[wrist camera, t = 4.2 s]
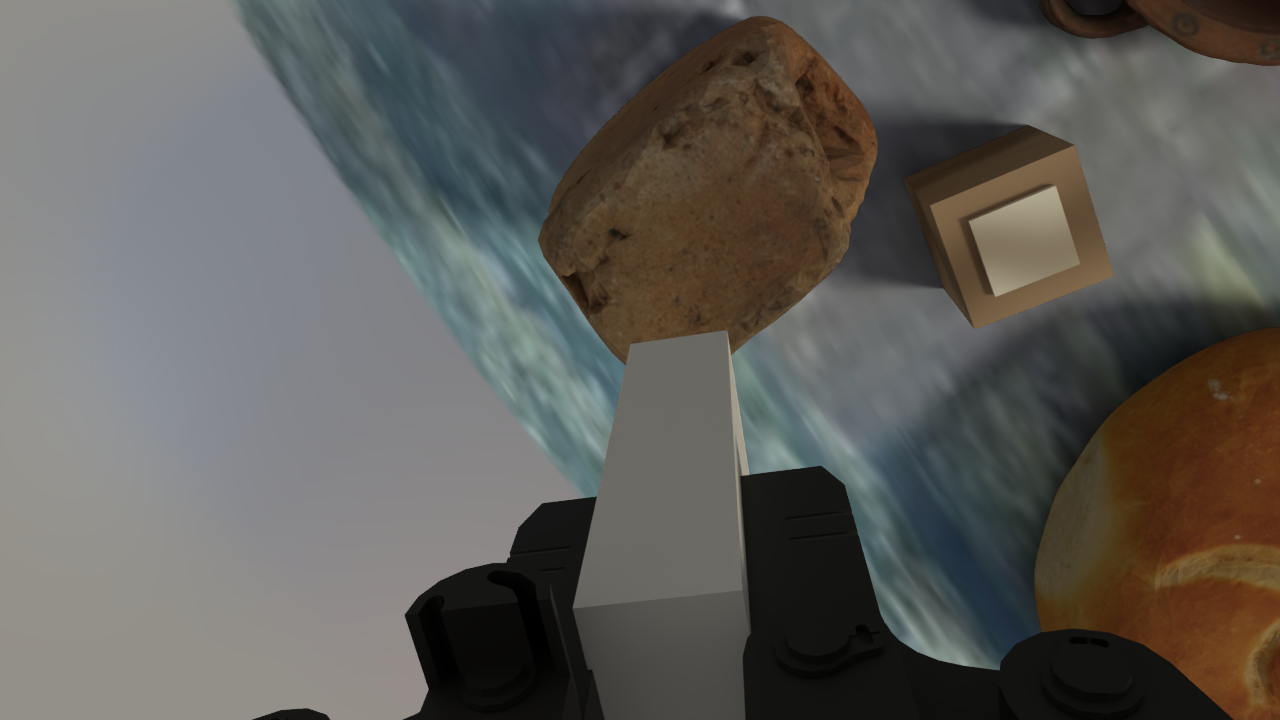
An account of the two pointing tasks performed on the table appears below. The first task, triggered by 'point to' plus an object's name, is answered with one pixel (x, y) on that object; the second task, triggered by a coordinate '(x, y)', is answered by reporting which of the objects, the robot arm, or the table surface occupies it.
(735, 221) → the brown pitted rock
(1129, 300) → the table surface
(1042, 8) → the dish
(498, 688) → the robot arm
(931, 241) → the walnut cube
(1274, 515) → the bread
